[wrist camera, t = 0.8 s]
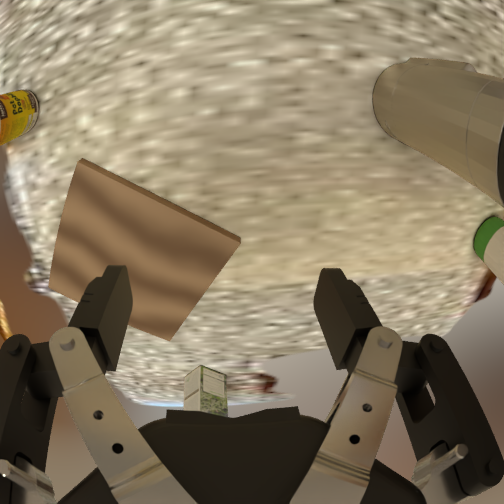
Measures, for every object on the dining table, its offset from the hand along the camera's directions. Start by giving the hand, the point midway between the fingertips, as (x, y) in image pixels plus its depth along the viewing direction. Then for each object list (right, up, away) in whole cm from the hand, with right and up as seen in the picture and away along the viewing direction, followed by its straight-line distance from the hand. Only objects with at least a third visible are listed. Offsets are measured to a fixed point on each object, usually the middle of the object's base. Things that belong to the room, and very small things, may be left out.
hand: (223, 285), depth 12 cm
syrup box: (-7, -21, +38) cm, 44 cm away
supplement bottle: (-24, +17, +10) cm, 31 cm away
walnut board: (-14, 0, +22) cm, 26 cm away
